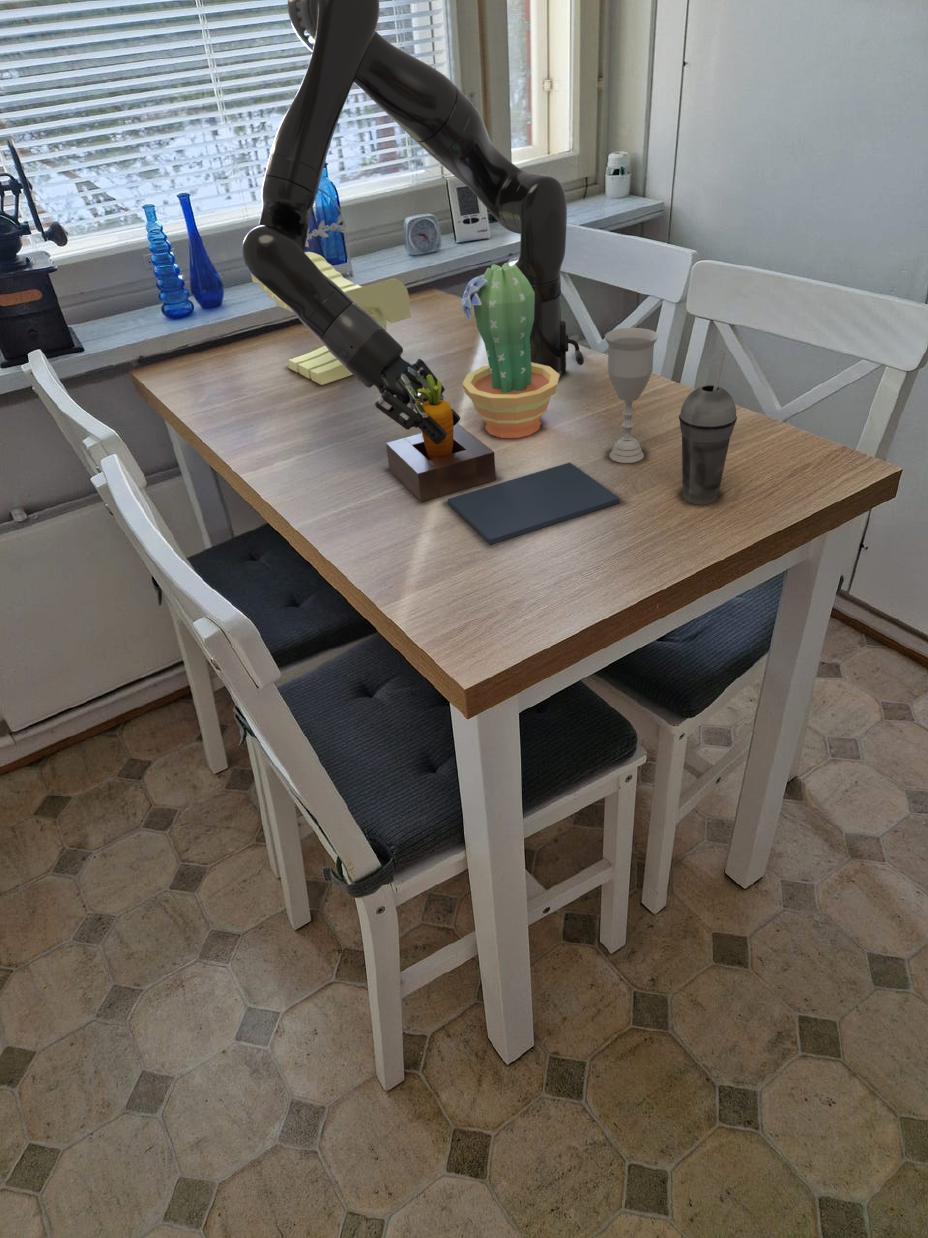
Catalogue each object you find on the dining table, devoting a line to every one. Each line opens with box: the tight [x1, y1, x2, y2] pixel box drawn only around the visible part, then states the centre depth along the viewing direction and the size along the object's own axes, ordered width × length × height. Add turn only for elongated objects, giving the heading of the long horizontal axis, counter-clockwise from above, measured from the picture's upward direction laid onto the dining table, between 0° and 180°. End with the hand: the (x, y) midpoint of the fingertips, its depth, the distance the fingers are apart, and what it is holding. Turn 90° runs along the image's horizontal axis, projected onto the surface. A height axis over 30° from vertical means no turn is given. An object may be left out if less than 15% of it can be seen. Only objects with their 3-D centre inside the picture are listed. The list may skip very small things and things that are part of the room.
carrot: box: [417, 375, 454, 460], centre depth 127 cm, size 5×5×15 cm
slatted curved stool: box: [250, 251, 412, 386], centre depth 167 cm, size 30×16×18 cm, turn 37°
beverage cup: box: [678, 351, 738, 506], centre depth 114 cm, size 7×7×20 cm
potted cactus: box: [461, 262, 560, 439], centre depth 136 cm, size 15×15×25 cm
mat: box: [447, 462, 621, 545], centre depth 122 cm, size 20×13×1 cm, turn 116°
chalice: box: [604, 327, 659, 464], centre depth 127 cm, size 7×7×18 cm
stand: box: [385, 423, 497, 503], centre depth 130 cm, size 12×12×4 cm
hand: (449, 431), depth 126 cm, fingers closed on carrot, 5 cm apart
